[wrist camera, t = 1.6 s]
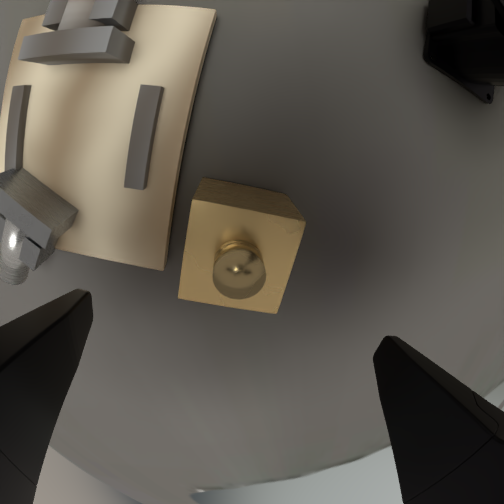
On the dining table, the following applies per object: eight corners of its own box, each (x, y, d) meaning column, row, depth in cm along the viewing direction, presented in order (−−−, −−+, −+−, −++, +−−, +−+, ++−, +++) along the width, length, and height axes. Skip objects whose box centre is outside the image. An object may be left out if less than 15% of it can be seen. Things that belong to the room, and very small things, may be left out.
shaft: (20, 165, 12) (-12, 177, 10) (78, 209, 14) (51, 230, 11) (-1, 238, 14) (-27, 258, 11) (51, 280, 16) (28, 306, 13)
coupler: (286, 194, 16) (314, 233, 10) (265, 267, 17) (280, 330, 12) (202, 177, 15) (188, 208, 10) (189, 254, 17) (173, 314, 12)
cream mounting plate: (226, -13, 10) (225, -49, 7) (166, 262, 17) (151, 301, 13) (41, -4, 8) (6, -20, 5) (8, 229, 15) (-26, 255, 11)
